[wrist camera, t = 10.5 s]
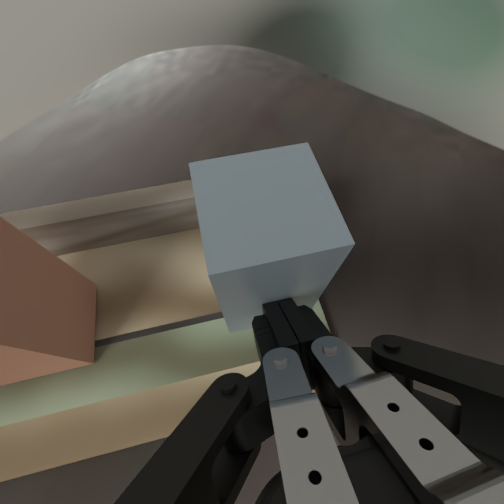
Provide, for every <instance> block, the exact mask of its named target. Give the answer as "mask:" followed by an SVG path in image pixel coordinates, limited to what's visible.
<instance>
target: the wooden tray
mask: <svg viewBox="0 0 504 504" xmlns="http://www.w3.org/2000/svg"><path fill="white" fill-rule="evenodd" d="M0 217H2V218H3V219H4V220H6V221H7V222H9V223H10V224H11V225H13V226H14V227H16V228H17V229H18V230H20V231H21V232H23V233H24V234H26V235H27V236H28V237H30V238H31V239H33V240H34V241H35V242H37V243H38V244H40V245H41V246H42V247H44V248H45V249H47V250H48V251H50V252H51V253H52V254H54V255H55V256H57V257H58V258H59V259H61V260H62V261H64V262H65V263H67V264H68V265H69V266H71V267H72V268H74V269H75V270H76V271H78V272H79V273H81V274H82V275H83V276H85V277H86V278H88V279H89V280H91V281H92V282H93V283H95V284H96V318H95V351H94V364H91V365H87V366H82V367H78V368H74V369H70V370H66V371H61V372H57V373H53V374H49V375H45V376H40V377H36V378H32V379H28V380H24V381H19V382H15V383H11V384H7V385H3V386H0V482H3V481H6V480H10V479H14V478H17V477H21V476H25V475H29V474H32V473H36V472H40V471H43V470H47V469H51V468H54V467H58V466H62V465H65V464H69V463H73V462H77V461H80V460H84V459H88V458H91V457H95V456H99V455H102V454H106V453H110V452H113V451H117V450H121V449H124V448H128V447H132V446H136V445H139V444H143V443H147V442H150V441H154V440H158V439H161V438H165V437H169V436H170V434H171V433H172V432H173V431H174V429H175V428H176V427H177V426H178V425H179V423H180V422H181V421H182V420H183V418H184V417H185V416H186V415H187V413H188V412H189V411H190V410H191V409H192V407H193V406H194V405H195V404H196V402H197V401H198V400H199V399H200V398H201V396H202V395H203V394H204V393H205V391H206V390H207V389H208V388H209V386H210V385H211V384H212V383H213V382H214V381H215V380H216V379H217V378H218V377H220V376H222V375H224V374H227V373H240V374H242V375H244V376H245V377H248V376H249V375H251V374H253V373H254V372H255V371H256V370H257V369H258V368H259V367H260V365H261V363H260V360H259V356H258V353H257V349H256V344H255V338H254V333H253V328H248V329H244V330H240V331H236V332H232V333H230V332H229V329H228V327H227V324H226V322H225V319H224V316H223V314H222V311H221V308H220V306H219V303H218V300H217V298H216V295H215V293H214V290H213V287H212V285H211V282H210V279H209V277H208V272H207V266H206V261H205V255H204V249H203V243H202V238H201V232H200V226H199V220H198V214H197V209H196V203H195V197H194V191H193V186H192V180H186V181H180V182H175V183H169V184H164V185H158V186H152V187H147V188H141V189H136V190H130V191H124V192H119V193H113V194H108V195H102V196H96V197H91V198H85V199H80V200H74V201H68V202H63V203H57V204H52V205H46V206H40V207H35V208H29V209H24V210H18V211H13V212H7V213H1V214H0ZM312 309H313V311H314V312H315V313H316V315H317V316H318V317H319V318H320V320H321V321H322V322H323V324H324V325H325V326H326V328H327V329H328V330H329V327H328V324H327V321H326V319H325V316H324V313H323V310H322V307H321V305H320V302H319V299H318V300H317V302H316V303H315V305H314V306H313V308H312ZM329 332H330V330H329ZM314 392H315V390H312V393H314ZM315 393H316V392H315Z"/></svg>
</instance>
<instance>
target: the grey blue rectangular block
mask: <svg viewBox="0 0 504 504" xmlns="http://www.w3.org/2000/svg"><path fill="white" fill-rule="evenodd" d="M189 168H190V174H191V180H192V186H193V191H194V197H195V203H196V209H197V214H198V220H199V226H200V232H201V238H202V243H203V249H204V255H205V261H206V266H207V272H208V277H209V279H210V282H211V285H212V287H213V290H214V293H215V295H216V298H217V300H218V303H219V306H220V308H221V311H222V314H223V316H224V319H225V322H226V324H227V327H228V329H229V332H230V333H232V332H236V331H240V330H244V329H248V328H252V321H253V318H254V316H259V315H263V310H262V304H266V303H270V302H274V301H279V300H283V299H287V298H292V299H293V300H294V302H295V303H296V305H297V306H301V305H306V306H308V307H309V308H311V309H312V308H313V306H314V305H315V303H316V302H317V300H318V299H319V297H320V296H321V294H322V293H323V291H324V290H325V288H326V287H327V285H328V284H329V282H330V281H331V279H332V278H333V276H334V275H335V273H336V272H337V271H338V269H339V268H340V266H341V265H342V263H343V262H344V260H345V259H346V257H347V256H348V254H349V253H350V251H351V250H352V248H353V247H354V245H355V242H354V240H353V238H352V236H351V234H350V231H349V229H348V227H347V225H346V223H345V221H344V219H343V217H342V214H341V212H340V210H339V208H338V206H337V204H336V202H335V199H334V197H333V195H332V193H331V191H330V189H329V187H328V184H327V182H326V180H325V178H324V176H323V174H322V172H321V170H320V167H319V165H318V163H317V161H316V159H315V157H314V155H313V152H312V150H311V148H310V146H309V144H308V142H307V143H301V144H295V145H289V146H284V147H278V148H272V149H266V150H260V151H255V152H249V153H243V154H237V155H231V156H226V157H220V158H214V159H208V160H202V161H197V162H191V163H189Z"/></svg>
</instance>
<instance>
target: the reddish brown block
mask: <svg viewBox="0 0 504 504" xmlns="http://www.w3.org/2000/svg"><path fill="white" fill-rule="evenodd" d="M95 318H96V284H95V283H93V282H92V281H91V280H89V279H88V278H86V277H85V276H83V275H82V274H81V273H79V272H78V271H76V270H75V269H74V268H72V267H71V266H69V265H68V264H67V263H65V262H64V261H62V260H61V259H59V258H58V257H57V256H55V255H54V254H52V253H51V252H50V251H48V250H47V249H45V248H44V247H42V246H41V245H40V244H38V243H37V242H35V241H34V240H33V239H31V238H30V237H28V236H27V235H26V234H24V233H23V232H21V231H20V230H18V229H17V228H16V227H14V226H13V225H11V224H10V223H9V222H7V221H6V220H4V219H3V218H2V217H0V386H3V385H7V384H11V383H15V382H19V381H24V380H28V379H32V378H36V377H40V376H45V375H49V374H53V373H57V372H61V371H66V370H70V369H74V368H78V367H82V366H87V365H91V364H94V351H95Z"/></svg>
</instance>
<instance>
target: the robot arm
mask: <svg viewBox="0 0 504 504" xmlns="http://www.w3.org/2000/svg"><path fill="white" fill-rule="evenodd" d="M262 310H263V315H259V316H254V318H253V321H252V328H253V333H254V338H255V344H256V349H257V353H258V356H259V360H260V363H261V365H260V367H259V368H258V369H257V370H256V371H255V372H254V373H253V374H251V375H249V376H248V377H245V376H244V375H242V374H240V373H227V374H224V375H222V376H220V377H218V378H217V379H216V380H215V381H214V382H213V383H212V384H211V385H210V386H209V388H208V389H207V390H206V391H205V393H204V394H203V395H202V396H201V398H200V399H199V400H198V401H197V402H196V404H195V405H194V406H193V407H192V409H191V410H190V411H189V412H188V413H187V415H186V416H185V417H184V418H183V420H182V421H181V422H180V423H179V425H178V426H177V427H176V428H175V429H174V431H173V432H172V433H171V434H170V436H169V437H168V438H167V439H166V440H165V442H164V443H163V444H162V445H161V447H160V448H159V449H158V450H157V451H156V453H155V454H154V455H153V456H152V458H151V459H150V460H149V461H148V463H147V464H146V465H145V466H144V467H143V469H142V470H141V471H140V472H139V474H138V475H137V476H136V477H135V478H134V480H133V481H132V482H131V483H130V485H129V486H128V487H127V488H126V490H125V491H124V492H123V493H122V494H121V496H120V497H119V498H118V499H117V501H116V502H115V503H114V504H234V503H235V501H236V499H237V497H238V495H239V492H240V490H241V488H242V486H243V484H244V482H245V480H246V478H247V476H248V474H249V472H250V470H251V468H252V466H253V464H254V462H255V460H256V458H257V456H258V454H259V451H260V448H261V443H262V442H263V441H265V440H266V439H267V438H269V437H270V436H272V435H273V434H275V439H276V444H277V450H278V456H279V462H280V468H281V471H280V472H279V473H277V474H276V475H275V476H274V477H273V478H272V479H271V480H270V481H269V482H268V483H267V484H266V486H265V487H264V489H263V490H262V492H261V493H260V495H259V497H258V499H257V501H256V503H255V504H504V366H502V365H499V364H495V363H492V362H488V361H484V360H481V359H477V358H474V357H470V356H467V355H463V354H460V353H456V352H452V351H449V350H445V349H442V348H438V347H435V346H431V345H428V344H424V343H420V342H417V341H413V340H410V339H406V338H403V337H399V336H395V335H381V336H378V337H376V338H374V339H373V340H372V342H371V347H350V346H349V345H348V344H347V343H346V342H345V341H344V340H342V339H340V338H338V337H334V336H332V334H331V333H330V332H329V330H328V329H327V328H326V326H325V325H324V324H323V322H322V321H321V320H320V318H319V317H318V316H317V315H316V313H315V312H314V311H313V309H311V308H309V307H308V306H306V305H301V306H297V305H296V303H295V302H294V300H293V299H292V298H287V299H283V300H279V301H274V302H270V303H266V304H262ZM413 380H415V381H418V382H421V383H423V384H426V385H429V386H432V387H434V388H437V389H440V390H442V391H445V392H448V393H450V394H452V395H454V396H455V397H456V398H457V399H458V400H459V401H460V403H461V405H462V406H458V405H454V404H451V403H448V402H446V401H443V400H441V399H438V398H436V397H433V396H430V395H428V394H425V393H423V392H420V391H418V390H415V389H413ZM312 390H315V392H316V393H315V392H314V393H312ZM328 424H329V425H328ZM329 426H330V427H329ZM330 428H331V429H332V431H333V433H334V435H335V436H336V438H337V440H338V442H339V443H340V445H341V446H337V445H336V443H335V440H334V437H333V435H332V432H331V430H330Z"/></svg>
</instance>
